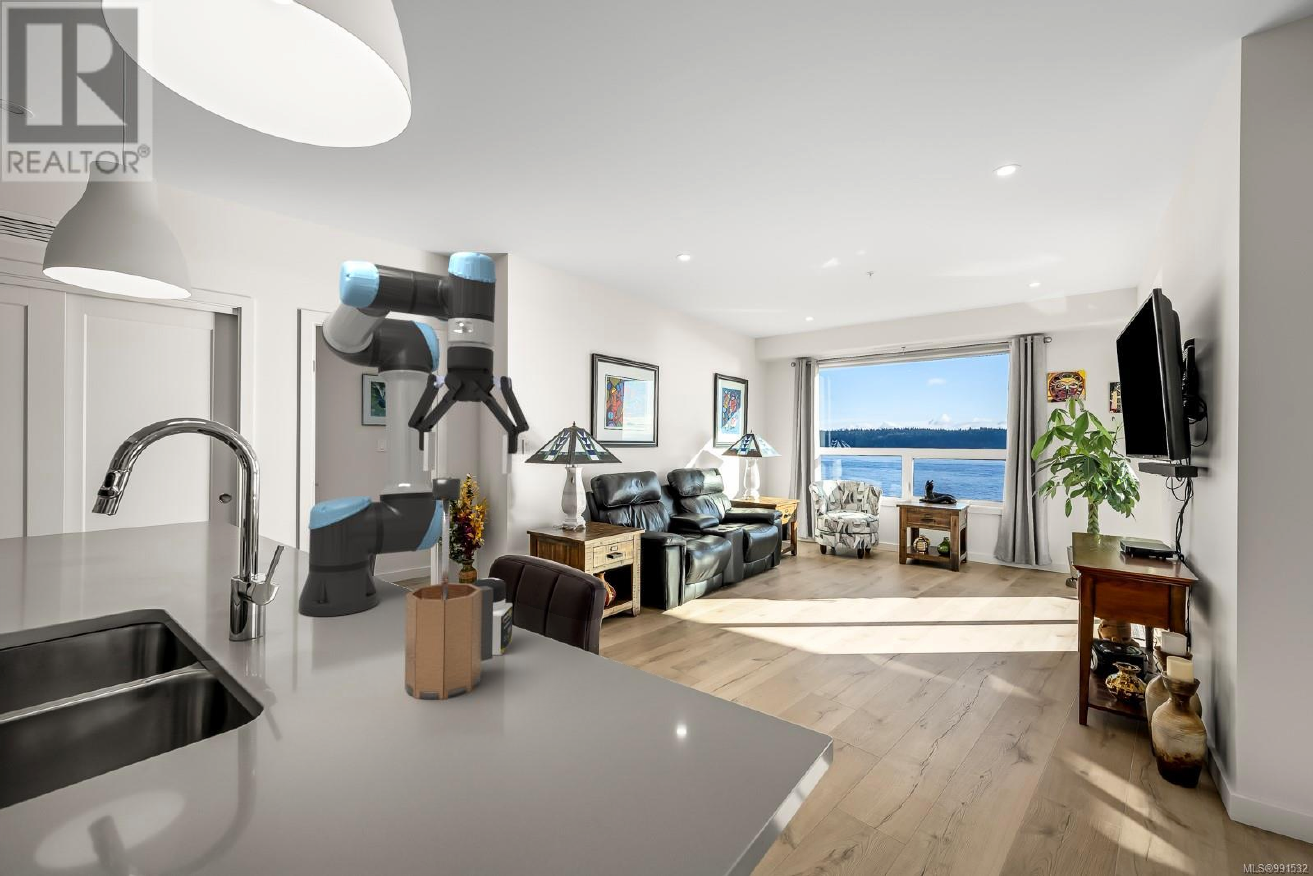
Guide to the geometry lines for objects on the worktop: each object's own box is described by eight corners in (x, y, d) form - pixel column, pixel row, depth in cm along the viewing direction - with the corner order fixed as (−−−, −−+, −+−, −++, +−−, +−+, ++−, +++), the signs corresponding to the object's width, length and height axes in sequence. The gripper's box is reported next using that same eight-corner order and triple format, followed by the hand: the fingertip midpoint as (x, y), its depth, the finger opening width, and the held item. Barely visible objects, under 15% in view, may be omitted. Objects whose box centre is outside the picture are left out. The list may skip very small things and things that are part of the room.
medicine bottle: (501, 656, 101) (502, 585, 101) (459, 655, 101) (461, 585, 101) (512, 641, 108) (513, 576, 108) (473, 640, 108) (474, 575, 108)
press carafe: (395, 682, 90) (397, 590, 90) (473, 662, 98) (475, 577, 98) (421, 706, 82) (423, 605, 82) (504, 682, 90) (505, 590, 90)
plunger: (409, 622, 90) (411, 478, 89) (458, 612, 95) (460, 476, 95) (428, 635, 84) (431, 481, 84) (479, 624, 89) (481, 479, 89)
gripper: (388, 342, 98) (385, 470, 98) (537, 346, 96) (533, 476, 97) (410, 348, 105) (407, 467, 106) (548, 351, 104) (545, 472, 104)
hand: (467, 472), depth 101 cm, fingers open, 13 cm apart
